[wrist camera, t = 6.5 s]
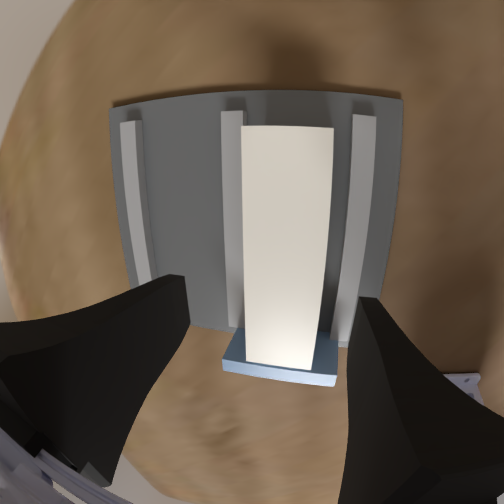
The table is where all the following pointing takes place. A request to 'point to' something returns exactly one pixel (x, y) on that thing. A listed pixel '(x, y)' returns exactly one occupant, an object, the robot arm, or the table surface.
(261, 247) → the cream rectangular block
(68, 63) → the table surface
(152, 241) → the board
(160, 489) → the table surface
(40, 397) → the robot arm
